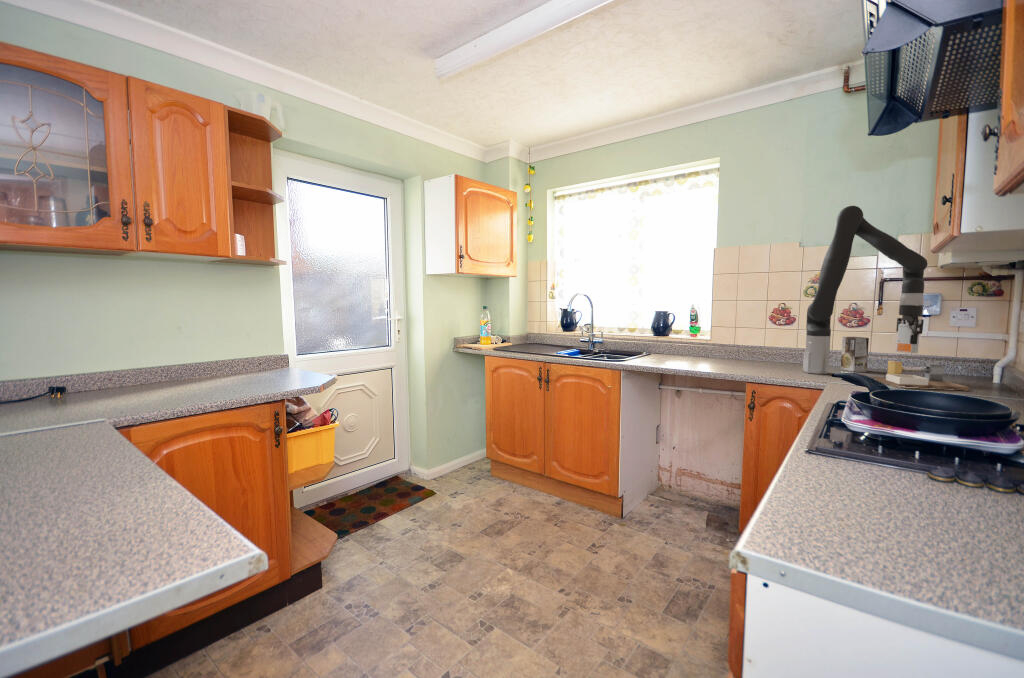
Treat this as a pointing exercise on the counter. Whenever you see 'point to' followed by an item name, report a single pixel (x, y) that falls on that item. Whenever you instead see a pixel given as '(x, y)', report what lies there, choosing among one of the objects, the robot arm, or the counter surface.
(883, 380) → the base plate
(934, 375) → the bearing block
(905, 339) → the skincare box
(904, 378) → the sleeve
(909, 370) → the shaft
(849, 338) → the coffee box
